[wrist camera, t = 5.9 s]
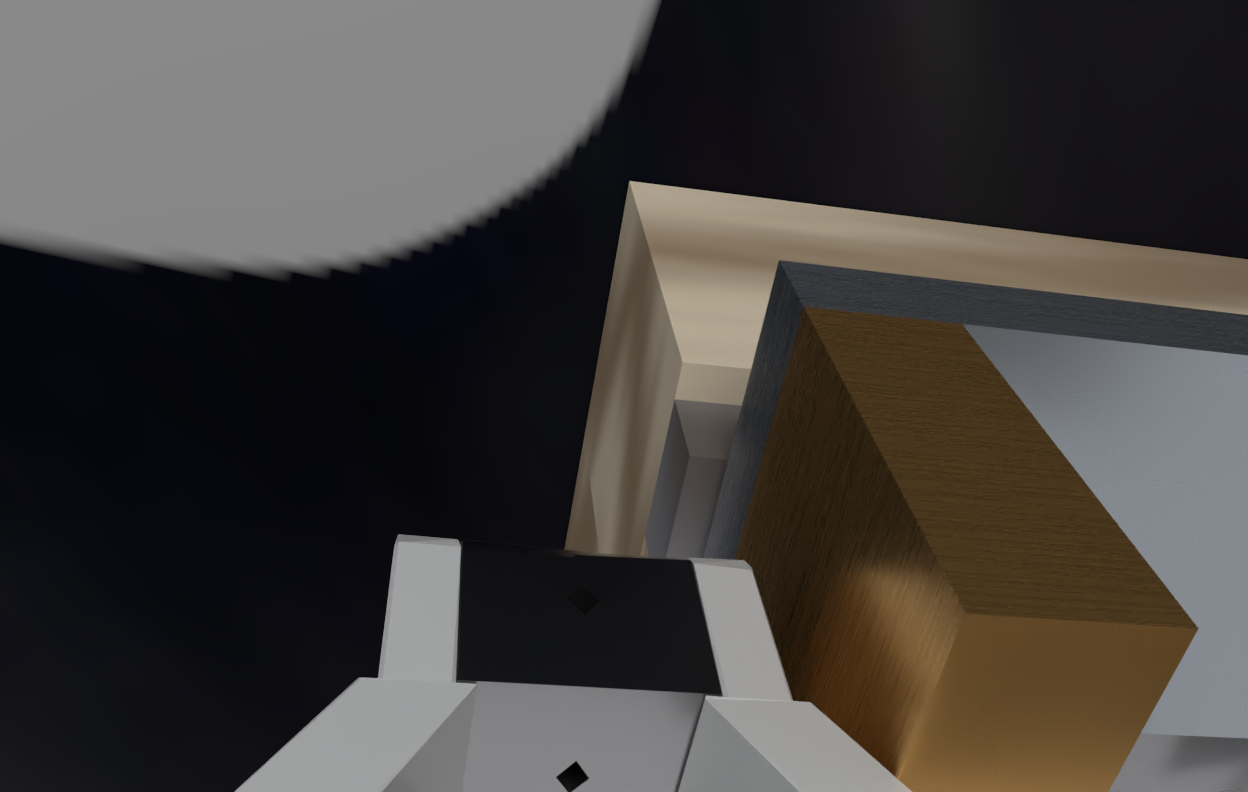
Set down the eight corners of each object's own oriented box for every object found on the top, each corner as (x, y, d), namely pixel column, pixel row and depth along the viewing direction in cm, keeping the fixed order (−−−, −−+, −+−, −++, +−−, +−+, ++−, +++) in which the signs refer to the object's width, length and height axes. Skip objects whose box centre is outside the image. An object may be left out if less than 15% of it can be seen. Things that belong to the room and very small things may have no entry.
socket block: (629, 181, 18) (698, 417, 12) (1385, 277, 20) (1768, 515, 14) (524, 779, 25) (533, 1124, 19) (1098, 798, 27) (1273, 1111, 21)
